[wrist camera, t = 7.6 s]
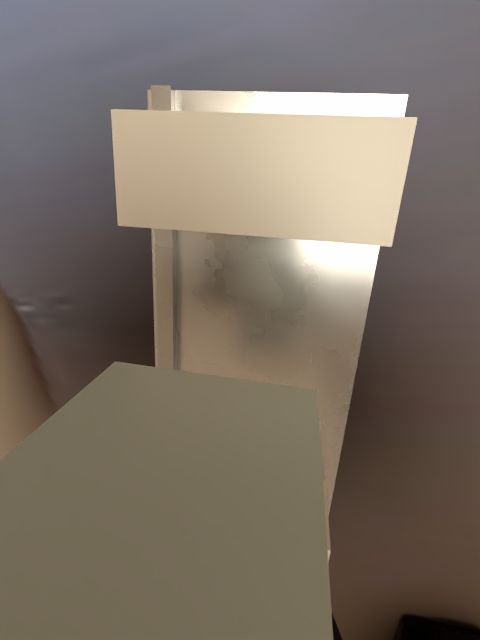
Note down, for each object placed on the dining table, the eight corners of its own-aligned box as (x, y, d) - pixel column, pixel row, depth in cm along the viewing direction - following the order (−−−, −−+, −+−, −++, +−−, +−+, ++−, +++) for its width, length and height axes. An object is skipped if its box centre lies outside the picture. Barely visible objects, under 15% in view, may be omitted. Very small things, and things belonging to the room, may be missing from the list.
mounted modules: (317, 528, 20) (320, 604, 16) (166, 500, 21) (137, 564, 18) (385, 139, 13) (417, 117, 10) (160, 131, 15) (110, 109, 11)
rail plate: (321, 534, 21) (322, 559, 20) (165, 504, 23) (155, 525, 21) (401, 101, 14) (413, 89, 12) (157, 96, 15) (141, 85, 14)
